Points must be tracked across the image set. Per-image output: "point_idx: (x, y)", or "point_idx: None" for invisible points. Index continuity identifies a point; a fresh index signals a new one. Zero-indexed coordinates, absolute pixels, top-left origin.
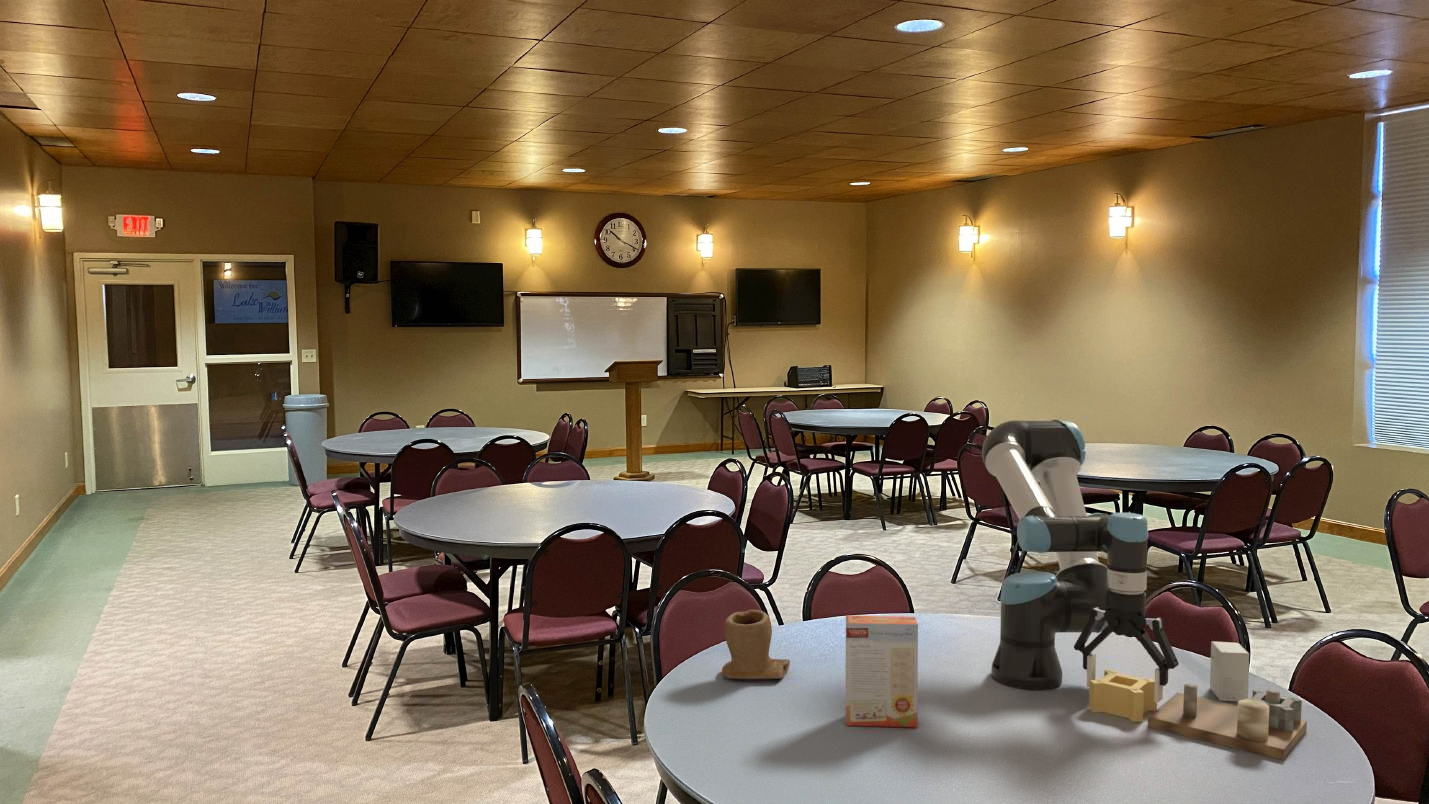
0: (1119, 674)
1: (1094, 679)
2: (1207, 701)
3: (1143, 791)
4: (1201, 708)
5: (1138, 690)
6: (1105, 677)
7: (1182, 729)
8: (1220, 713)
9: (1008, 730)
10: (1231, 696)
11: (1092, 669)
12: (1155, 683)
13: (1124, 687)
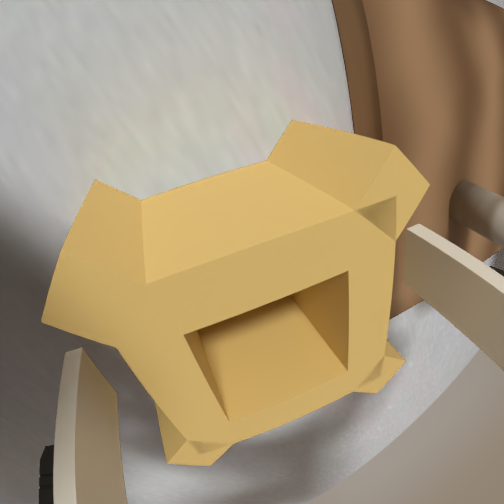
0: (176, 294)
1: (87, 380)
2: (455, 12)
3: (402, 431)
4: (469, 102)
5: (386, 368)
6: (172, 404)
7: None
8: (498, 106)
9: (175, 501)
10: None
11: (105, 458)
12: (461, 327)
13: (330, 400)
